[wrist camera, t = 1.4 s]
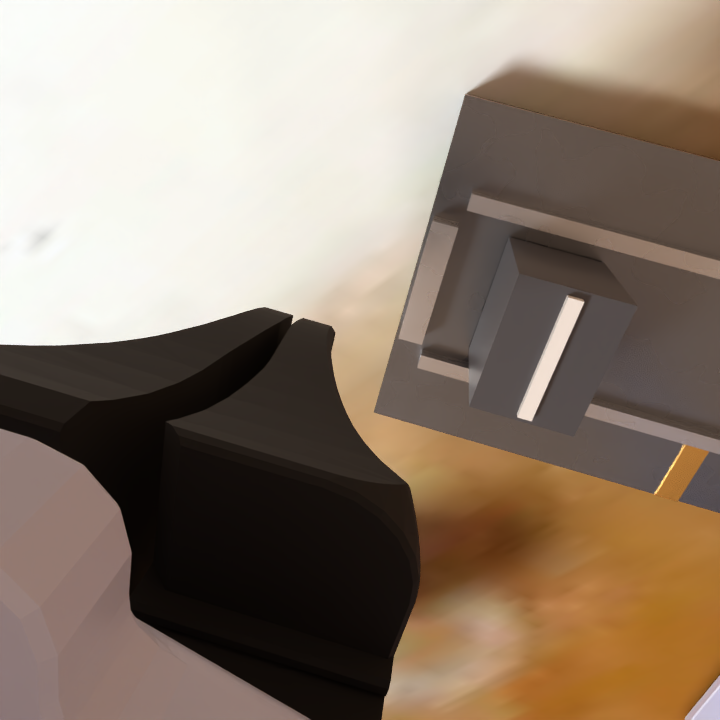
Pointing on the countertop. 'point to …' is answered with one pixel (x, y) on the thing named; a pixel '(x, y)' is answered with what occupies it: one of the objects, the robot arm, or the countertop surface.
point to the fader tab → (546, 336)
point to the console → (590, 240)
